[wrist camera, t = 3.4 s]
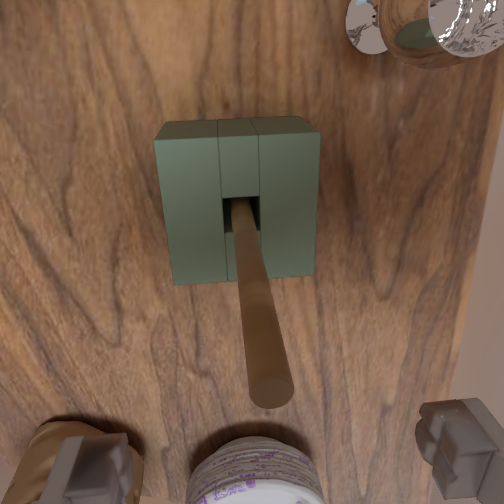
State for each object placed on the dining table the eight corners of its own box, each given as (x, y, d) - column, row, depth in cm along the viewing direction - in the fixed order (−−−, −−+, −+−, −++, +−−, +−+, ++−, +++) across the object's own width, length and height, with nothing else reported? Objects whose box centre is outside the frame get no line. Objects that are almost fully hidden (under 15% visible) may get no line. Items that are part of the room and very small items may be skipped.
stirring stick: (244, 174, 31) (295, 375, 12) (245, 190, 32) (294, 408, 12) (227, 175, 31) (248, 379, 12) (228, 191, 32) (250, 412, 12)
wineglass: (354, -45, 25) (456, -118, 15) (431, -16, 26) (578, -63, 16) (323, 51, 28) (392, 49, 17) (395, 74, 29) (502, 87, 18)
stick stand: (298, 115, 29) (321, 131, 23) (296, 235, 34) (314, 275, 28) (165, 121, 29) (152, 140, 23) (181, 242, 33) (173, 285, 27)
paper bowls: (219, 403, 43) (220, 472, 35) (335, 435, 47) (356, 503, 40) (168, 485, 48) (161, 559, 41) (276, 508, 52) (286, 578, 45)
